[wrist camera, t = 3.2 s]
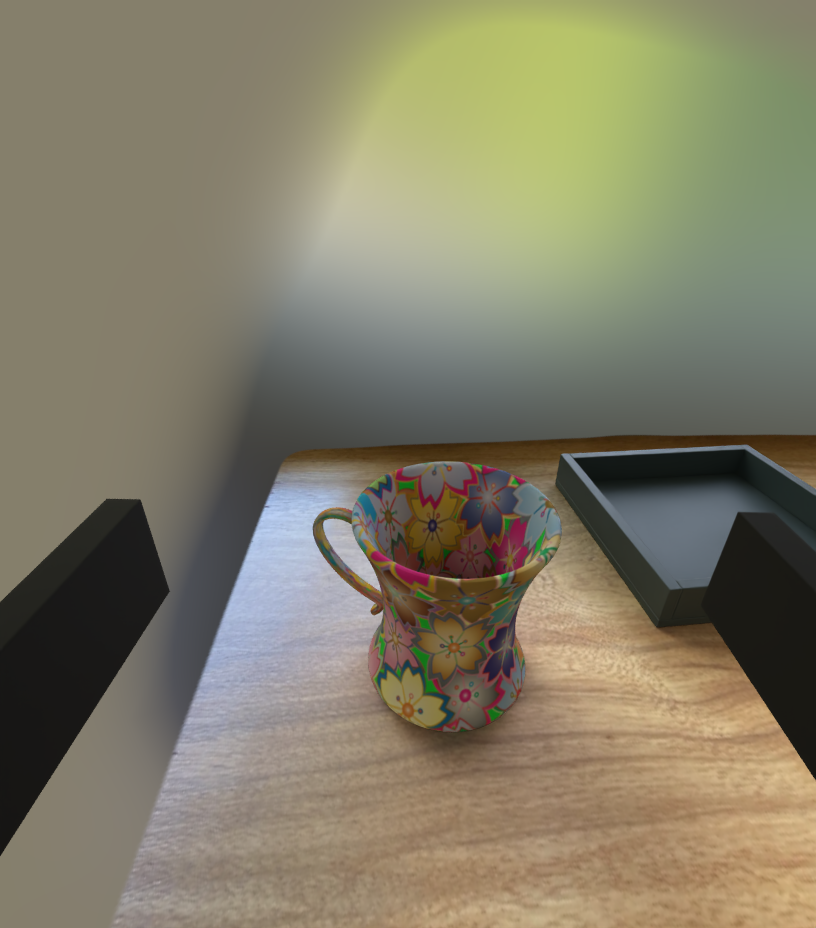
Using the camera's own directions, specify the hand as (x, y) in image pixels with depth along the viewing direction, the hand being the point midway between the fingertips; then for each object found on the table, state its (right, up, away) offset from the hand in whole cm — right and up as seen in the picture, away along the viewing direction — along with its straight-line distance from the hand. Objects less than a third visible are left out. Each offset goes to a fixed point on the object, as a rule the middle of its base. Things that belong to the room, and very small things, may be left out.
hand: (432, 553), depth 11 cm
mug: (0, -9, +17) cm, 19 cm away
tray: (+22, -3, +27) cm, 35 cm away
